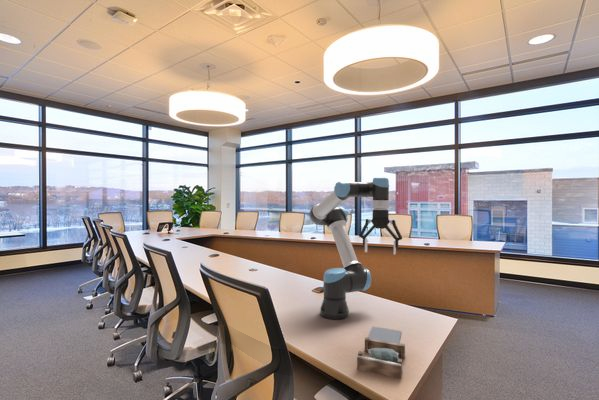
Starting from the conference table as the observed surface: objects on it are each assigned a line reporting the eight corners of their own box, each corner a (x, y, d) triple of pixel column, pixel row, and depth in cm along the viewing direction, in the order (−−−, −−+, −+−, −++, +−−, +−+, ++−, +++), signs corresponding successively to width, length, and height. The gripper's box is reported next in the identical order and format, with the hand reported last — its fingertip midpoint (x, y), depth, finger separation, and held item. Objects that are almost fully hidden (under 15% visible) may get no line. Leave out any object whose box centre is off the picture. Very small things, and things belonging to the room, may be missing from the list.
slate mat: (366, 341, 132) (366, 340, 132) (372, 327, 147) (372, 326, 147) (398, 347, 127) (398, 346, 127) (401, 332, 142) (401, 331, 142)
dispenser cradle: (357, 369, 110) (357, 355, 110) (366, 347, 127) (366, 335, 127) (401, 379, 105) (401, 364, 105) (405, 355, 121) (405, 342, 121)
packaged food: (366, 355, 119) (367, 342, 119) (398, 358, 118) (399, 345, 118) (369, 368, 111) (370, 354, 111) (403, 371, 109) (404, 357, 109)
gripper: (353, 209, 152) (352, 252, 152) (407, 210, 142) (406, 256, 142) (356, 208, 159) (356, 250, 159) (408, 209, 149) (407, 253, 149)
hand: (380, 253), depth 151 cm, fingers open, 13 cm apart
